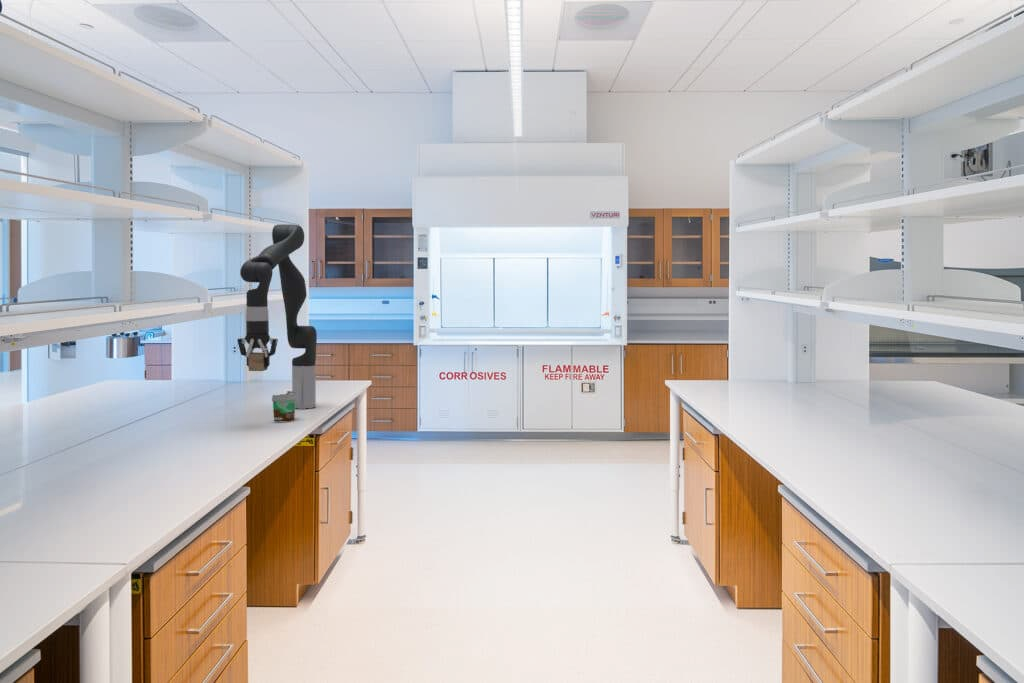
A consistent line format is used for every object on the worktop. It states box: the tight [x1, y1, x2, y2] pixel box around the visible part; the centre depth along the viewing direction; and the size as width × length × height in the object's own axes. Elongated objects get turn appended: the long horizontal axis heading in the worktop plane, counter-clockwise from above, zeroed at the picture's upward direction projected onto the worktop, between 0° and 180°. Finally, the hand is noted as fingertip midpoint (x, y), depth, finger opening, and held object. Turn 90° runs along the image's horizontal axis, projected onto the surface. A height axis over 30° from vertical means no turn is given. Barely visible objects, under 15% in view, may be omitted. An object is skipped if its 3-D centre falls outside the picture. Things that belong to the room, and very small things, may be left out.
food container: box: [271, 390, 297, 422], centre depth 290 cm, size 12×6×10 cm, turn 168°
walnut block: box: [248, 351, 268, 372], centre depth 277 cm, size 5×5×6 cm
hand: (258, 367), depth 277 cm, fingers closed on walnut block, 5 cm apart
